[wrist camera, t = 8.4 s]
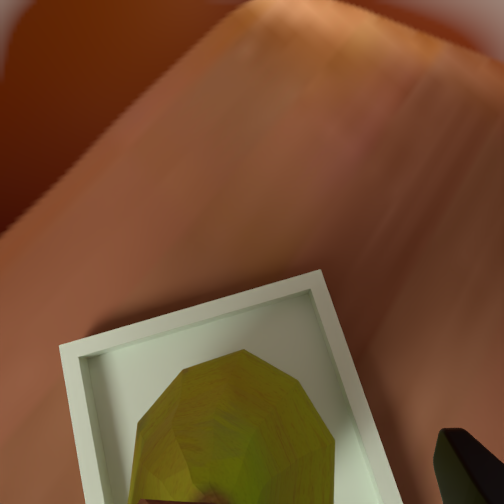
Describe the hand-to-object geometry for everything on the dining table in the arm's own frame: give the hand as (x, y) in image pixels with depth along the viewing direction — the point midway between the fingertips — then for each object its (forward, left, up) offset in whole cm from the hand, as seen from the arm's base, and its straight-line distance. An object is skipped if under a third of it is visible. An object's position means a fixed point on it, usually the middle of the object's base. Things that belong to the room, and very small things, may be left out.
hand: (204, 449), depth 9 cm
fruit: (-1, 0, -8) cm, 9 cm away
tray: (-1, 0, -9) cm, 9 cm away
